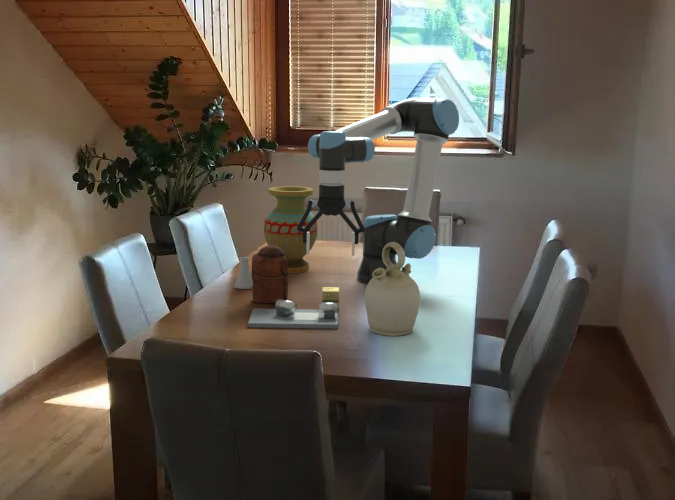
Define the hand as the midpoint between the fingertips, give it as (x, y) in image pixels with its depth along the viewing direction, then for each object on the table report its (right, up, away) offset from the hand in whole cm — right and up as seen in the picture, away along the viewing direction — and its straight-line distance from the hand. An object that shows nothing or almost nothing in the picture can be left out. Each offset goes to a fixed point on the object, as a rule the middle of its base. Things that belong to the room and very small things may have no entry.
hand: (330, 254), depth 218 cm
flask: (-29, -11, +26) cm, 40 cm away
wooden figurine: (-19, -15, +9) cm, 26 cm away
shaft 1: (-13, -17, -8) cm, 23 cm away
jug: (+17, -21, -16) cm, 32 cm away
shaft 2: (-1, -18, -10) cm, 20 cm away
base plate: (-10, -19, -9) cm, 24 cm away
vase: (-15, -6, +52) cm, 55 cm away
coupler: (0, -16, +3) cm, 17 cm away
